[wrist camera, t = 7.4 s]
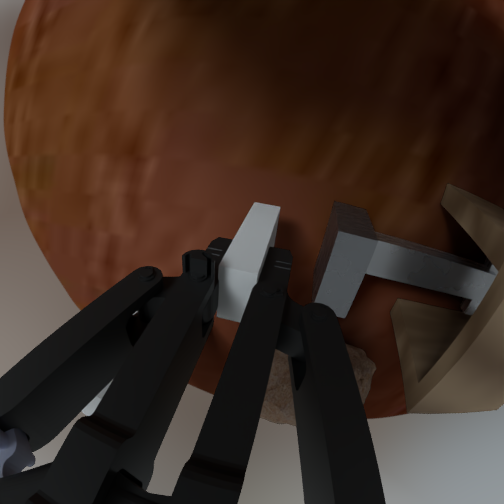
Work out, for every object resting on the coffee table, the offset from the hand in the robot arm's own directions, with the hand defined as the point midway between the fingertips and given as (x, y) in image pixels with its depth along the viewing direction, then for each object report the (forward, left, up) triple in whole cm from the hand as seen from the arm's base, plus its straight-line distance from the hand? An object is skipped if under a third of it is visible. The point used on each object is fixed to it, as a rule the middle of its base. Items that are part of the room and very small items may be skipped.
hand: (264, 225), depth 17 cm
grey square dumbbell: (0, +17, -2) cm, 17 cm away
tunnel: (0, +15, -2) cm, 16 cm away
